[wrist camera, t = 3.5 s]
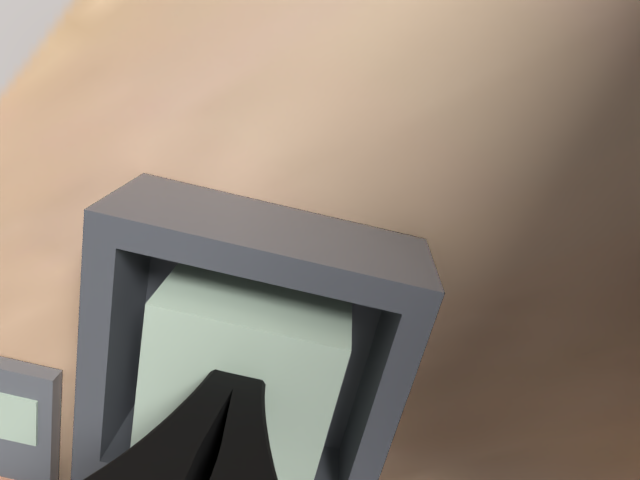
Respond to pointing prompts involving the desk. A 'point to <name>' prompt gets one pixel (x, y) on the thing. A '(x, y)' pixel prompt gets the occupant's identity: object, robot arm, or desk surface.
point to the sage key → (246, 356)
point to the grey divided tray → (260, 265)
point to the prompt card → (29, 420)
